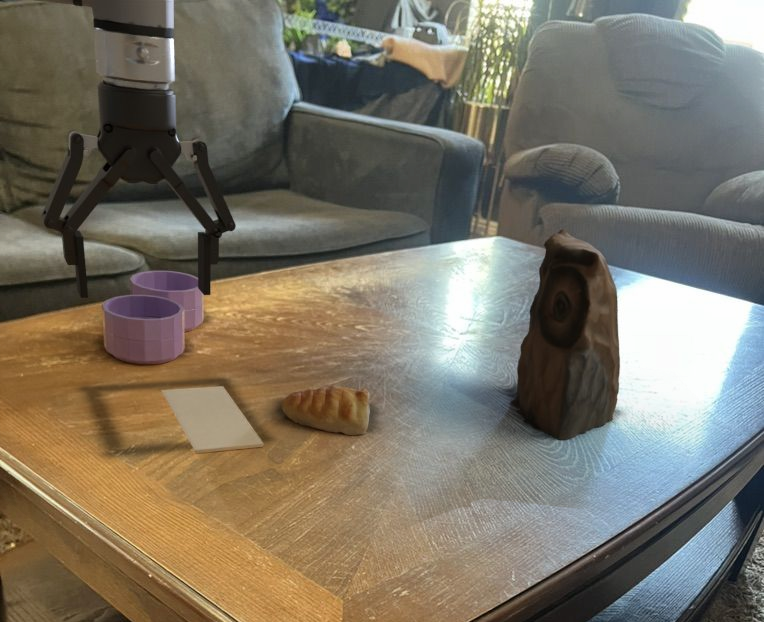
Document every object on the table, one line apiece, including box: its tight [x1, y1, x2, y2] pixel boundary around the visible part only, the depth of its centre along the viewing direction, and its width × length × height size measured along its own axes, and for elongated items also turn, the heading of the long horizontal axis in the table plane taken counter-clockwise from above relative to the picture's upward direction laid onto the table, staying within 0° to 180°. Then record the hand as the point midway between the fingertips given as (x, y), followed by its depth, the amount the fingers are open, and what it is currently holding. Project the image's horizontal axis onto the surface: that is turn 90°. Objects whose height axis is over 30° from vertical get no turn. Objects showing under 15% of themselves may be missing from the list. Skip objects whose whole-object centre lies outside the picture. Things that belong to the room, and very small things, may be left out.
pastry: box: [281, 384, 371, 436], centre depth 82 cm, size 9×7×4 cm
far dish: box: [129, 270, 205, 332], centre depth 101 cm, size 9×9×6 cm
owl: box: [510, 228, 621, 441], centre depth 87 cm, size 13×13×20 cm
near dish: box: [101, 294, 186, 365], centre depth 91 cm, size 9×9×6 cm
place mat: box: [160, 385, 265, 454], centre depth 78 cm, size 14×14×1 cm
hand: (145, 293), depth 89 cm, fingers open, 13 cm apart
